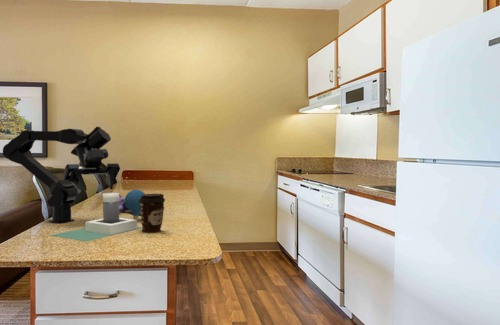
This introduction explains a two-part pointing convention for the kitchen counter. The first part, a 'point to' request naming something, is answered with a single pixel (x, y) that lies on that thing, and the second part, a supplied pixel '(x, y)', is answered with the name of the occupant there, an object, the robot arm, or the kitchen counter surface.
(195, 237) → the kitchen counter surface
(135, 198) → the light bulb
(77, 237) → the board
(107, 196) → the dome-topped cylinder
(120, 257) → the kitchen counter surface
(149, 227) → the coffee cup
